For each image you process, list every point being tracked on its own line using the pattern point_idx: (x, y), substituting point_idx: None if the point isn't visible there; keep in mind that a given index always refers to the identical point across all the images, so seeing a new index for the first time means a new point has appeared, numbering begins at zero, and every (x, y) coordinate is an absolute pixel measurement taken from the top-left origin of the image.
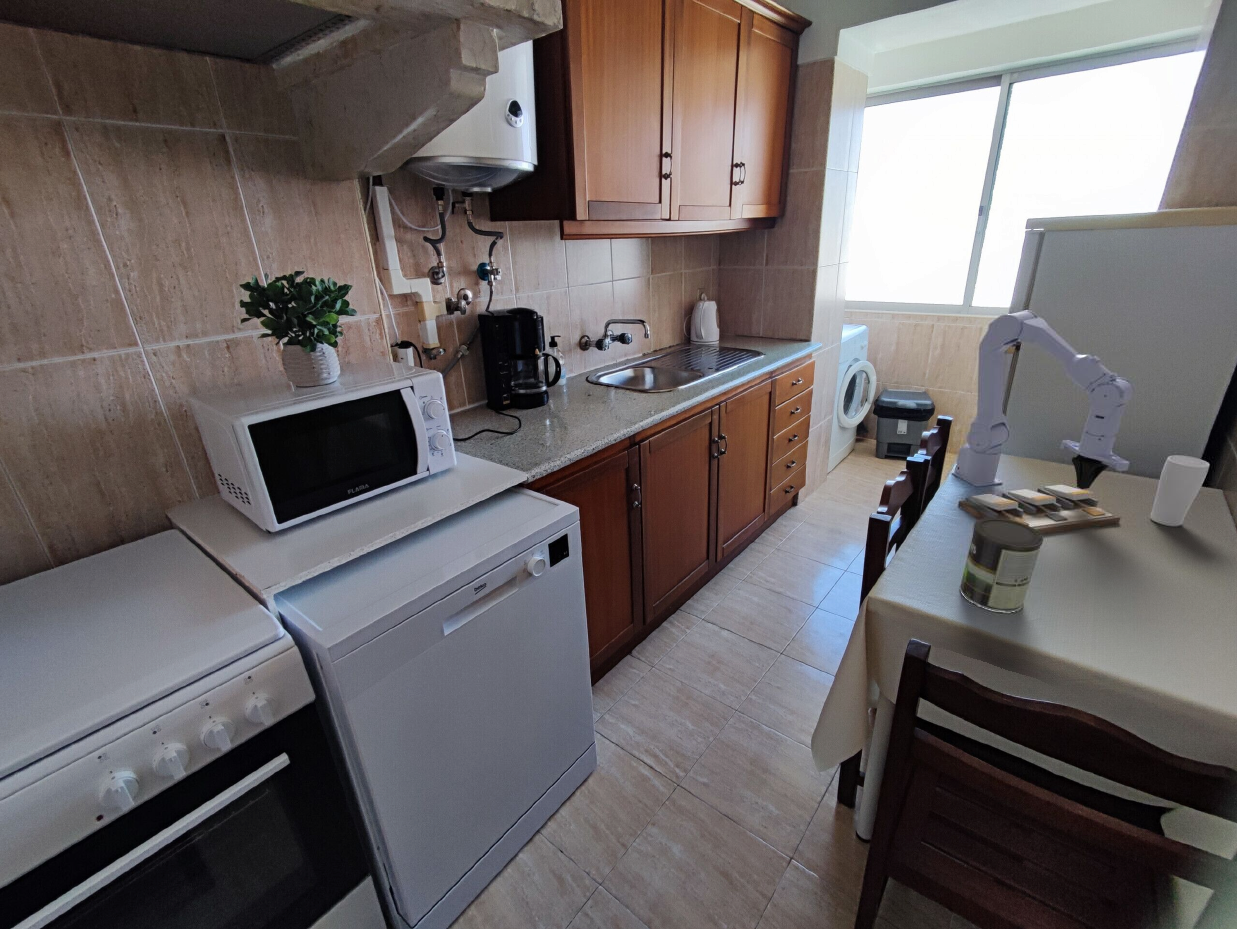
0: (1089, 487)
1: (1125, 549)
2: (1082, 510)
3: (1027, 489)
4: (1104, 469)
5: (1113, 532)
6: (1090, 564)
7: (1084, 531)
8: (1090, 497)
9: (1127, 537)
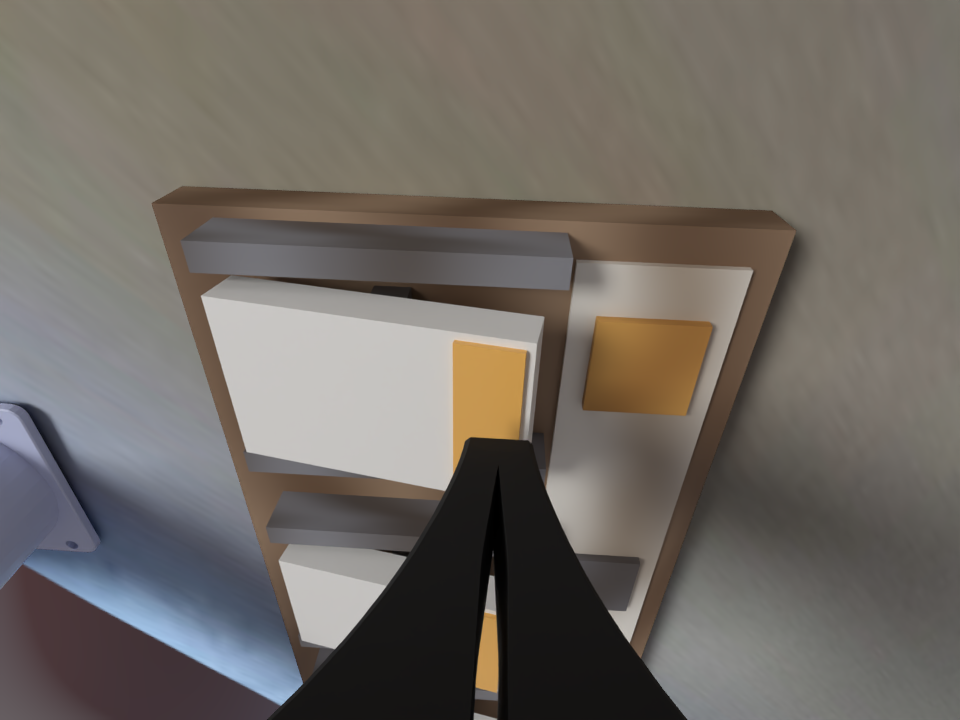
0: (532, 448)
1: (953, 477)
2: (587, 404)
3: (289, 562)
4: (664, 702)
5: (819, 370)
6: (890, 657)
7: (714, 487)
8: (540, 340)
9: (910, 354)
